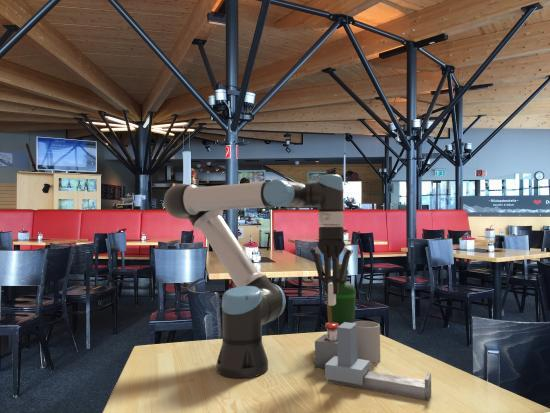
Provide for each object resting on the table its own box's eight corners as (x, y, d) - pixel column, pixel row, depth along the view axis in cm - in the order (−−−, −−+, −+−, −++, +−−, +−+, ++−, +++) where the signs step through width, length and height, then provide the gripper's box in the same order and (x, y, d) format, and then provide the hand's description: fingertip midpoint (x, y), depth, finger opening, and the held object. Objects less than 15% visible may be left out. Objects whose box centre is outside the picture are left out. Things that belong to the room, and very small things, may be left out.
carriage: (325, 378, 115) (324, 326, 115) (335, 368, 122) (334, 320, 122) (361, 385, 110) (361, 331, 110) (370, 374, 117) (369, 323, 117)
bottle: (340, 337, 159) (339, 261, 159) (363, 343, 150) (362, 263, 151) (319, 342, 152) (319, 263, 152) (342, 349, 144) (341, 266, 144)
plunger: (323, 355, 128) (323, 324, 128) (328, 351, 131) (328, 321, 131) (336, 357, 126) (336, 326, 126) (341, 353, 129) (340, 323, 130)
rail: (327, 382, 116) (327, 363, 116) (333, 376, 120) (333, 358, 121) (428, 400, 104) (428, 379, 104) (431, 392, 108) (430, 373, 109)
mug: (380, 364, 129) (380, 328, 129) (352, 363, 131) (351, 326, 131) (379, 352, 141) (379, 318, 141) (353, 350, 143) (352, 317, 143)
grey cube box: (315, 368, 127) (314, 340, 127) (324, 359, 134) (324, 334, 134) (341, 372, 123) (340, 344, 123) (349, 363, 130) (349, 337, 130)
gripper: (306, 226, 129) (307, 305, 128) (348, 226, 123) (349, 309, 122) (315, 225, 136) (316, 300, 135) (355, 225, 130) (356, 304, 129)
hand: (332, 304), depth 129 cm, fingers closed
